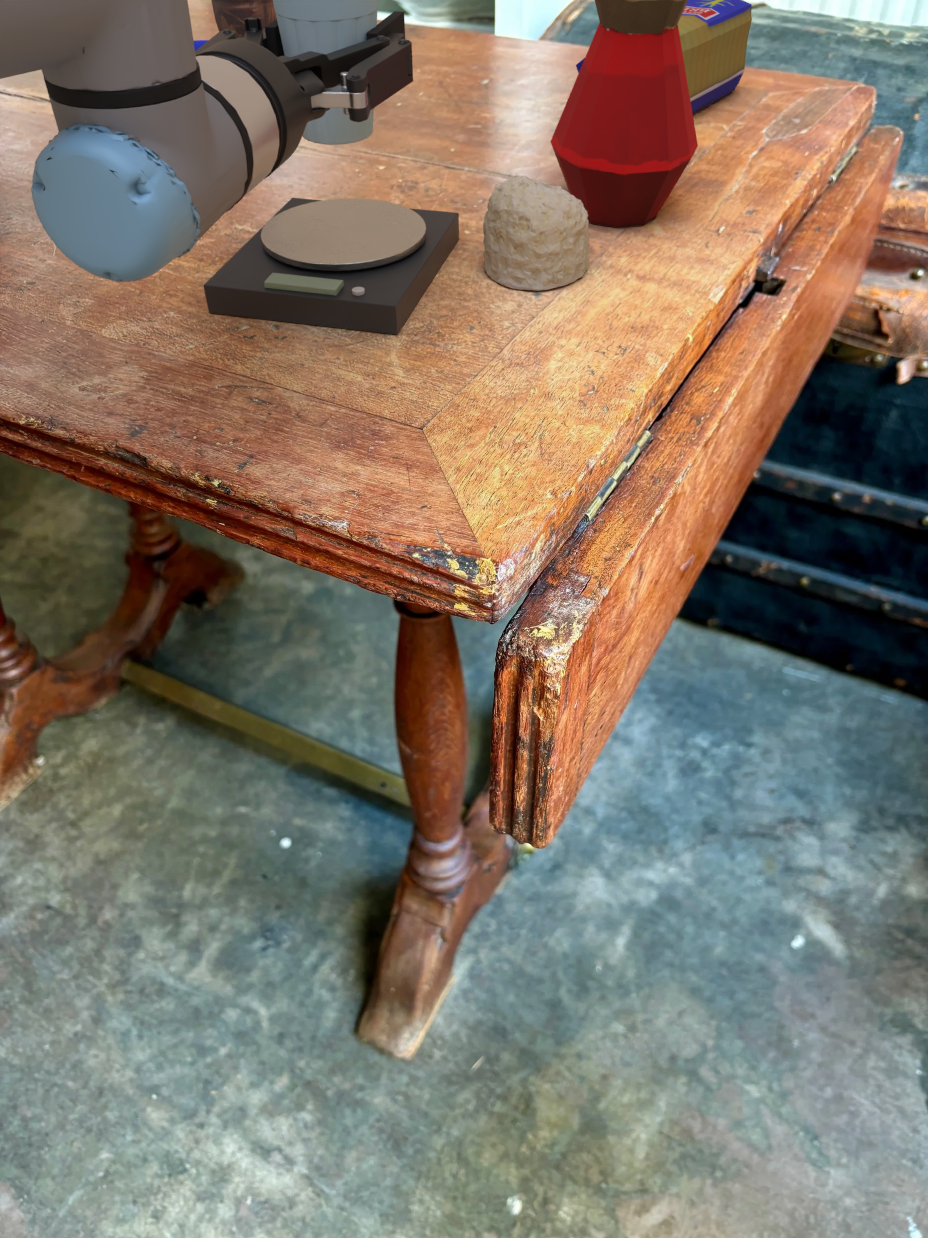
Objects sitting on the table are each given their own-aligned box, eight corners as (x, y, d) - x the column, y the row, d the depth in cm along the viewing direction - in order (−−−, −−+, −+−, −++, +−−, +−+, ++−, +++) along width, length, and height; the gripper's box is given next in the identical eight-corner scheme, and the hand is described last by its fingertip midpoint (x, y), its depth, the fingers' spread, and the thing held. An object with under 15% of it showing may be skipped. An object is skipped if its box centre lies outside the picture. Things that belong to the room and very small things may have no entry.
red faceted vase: (551, 176, 102) (562, -57, 88) (684, 181, 101) (717, -55, 87) (542, 238, 91) (555, -18, 77) (692, 244, 90) (732, -15, 76)
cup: (265, 135, 76) (245, -24, 69) (336, 111, 80) (323, -41, 73) (336, 157, 73) (322, -9, 65) (406, 131, 77) (400, -27, 70)
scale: (208, 313, 80) (201, 278, 78) (295, 222, 94) (291, 191, 92) (397, 335, 77) (395, 299, 75) (459, 238, 91) (458, 206, 89)
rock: (534, 287, 92) (477, 188, 88) (623, 241, 87) (566, 132, 83) (500, 331, 86) (436, 226, 82) (593, 284, 80) (529, 169, 76)
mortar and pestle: (297, 108, 119) (274, -95, 106) (224, 112, 118) (191, -92, 105) (294, 80, 128) (272, -111, 114) (226, 84, 127) (195, -109, 113)
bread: (749, 91, 123) (766, -6, 116) (649, 146, 109) (661, 39, 101) (676, 77, 127) (688, -17, 120) (571, 128, 113) (577, 25, 106)
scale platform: (234, 261, 81) (233, 254, 81) (297, 198, 91) (297, 191, 91) (398, 278, 79) (398, 271, 78) (445, 212, 88) (445, 205, 88)
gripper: (92, 173, 64) (239, 74, 80) (386, 201, 60) (478, 91, 77) (59, 43, 59) (223, -35, 75) (377, 64, 55) (478, -23, 71)
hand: (352, 28), depth 76 cm, fingers closed on cup, 7 cm apart
